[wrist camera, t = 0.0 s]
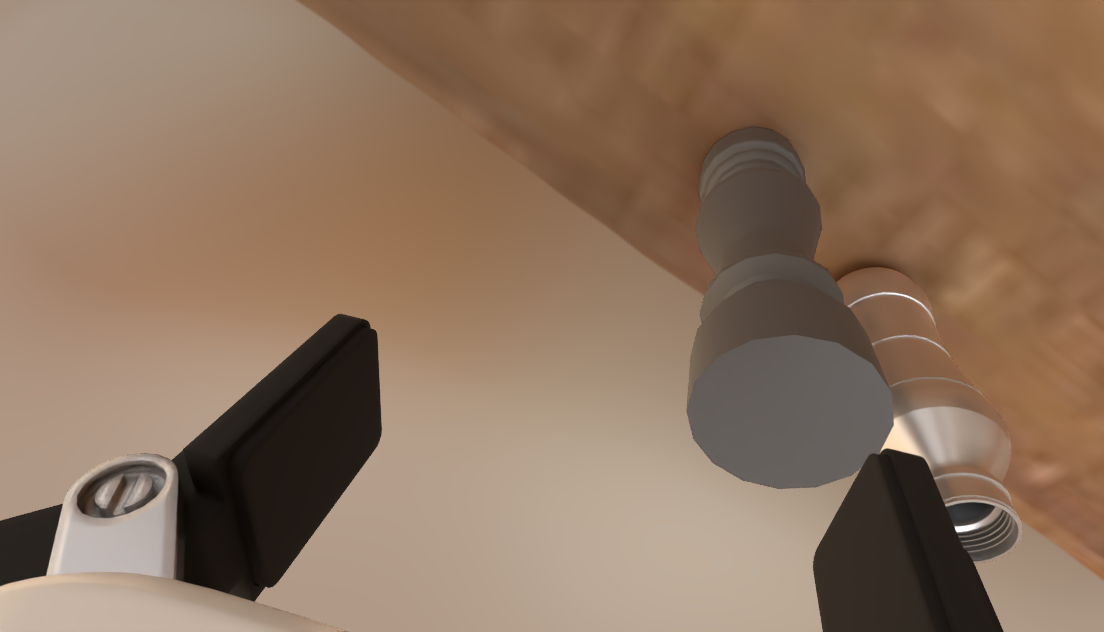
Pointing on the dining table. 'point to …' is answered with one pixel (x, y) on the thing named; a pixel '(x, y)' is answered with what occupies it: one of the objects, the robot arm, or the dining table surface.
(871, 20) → the dining table surface
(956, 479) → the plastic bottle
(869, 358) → the candle holder
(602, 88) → the dining table surface
